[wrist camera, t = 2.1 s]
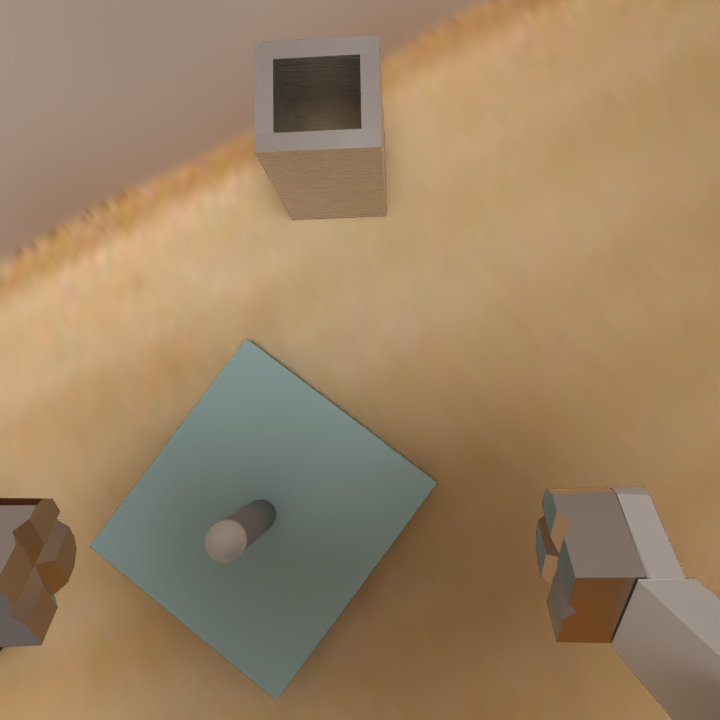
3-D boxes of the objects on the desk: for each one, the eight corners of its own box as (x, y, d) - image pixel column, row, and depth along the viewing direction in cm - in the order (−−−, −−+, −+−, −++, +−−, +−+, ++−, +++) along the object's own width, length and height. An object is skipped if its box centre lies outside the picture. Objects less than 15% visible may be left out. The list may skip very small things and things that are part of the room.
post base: (251, 340, 30) (207, 319, 23) (435, 480, 29) (446, 502, 22) (99, 541, 30) (8, 581, 23) (280, 690, 29) (242, 779, 22)
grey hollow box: (386, 215, 30) (381, 146, 23) (292, 219, 31) (254, 152, 23) (384, 132, 31) (378, 35, 23) (291, 136, 31) (254, 42, 23)
